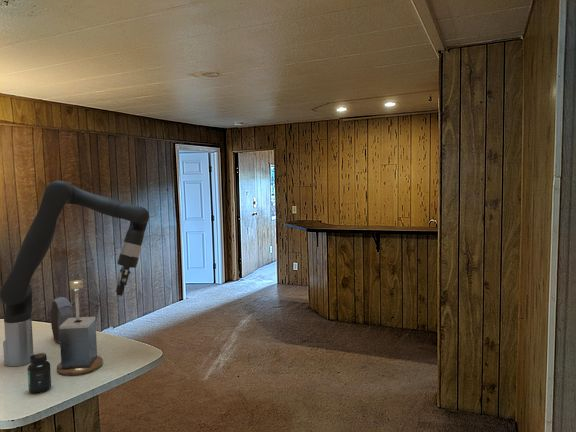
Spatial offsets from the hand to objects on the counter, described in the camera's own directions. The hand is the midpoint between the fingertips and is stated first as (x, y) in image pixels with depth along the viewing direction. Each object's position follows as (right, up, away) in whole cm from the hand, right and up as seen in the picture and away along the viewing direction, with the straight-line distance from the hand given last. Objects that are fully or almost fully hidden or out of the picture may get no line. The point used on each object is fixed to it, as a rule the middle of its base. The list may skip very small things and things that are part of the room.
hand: (118, 294), depth 177 cm
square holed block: (-12, -27, -8) cm, 30 cm away
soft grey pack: (-32, -25, +20) cm, 45 cm away
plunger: (-12, -16, -9) cm, 22 cm away
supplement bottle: (-17, -28, -26) cm, 42 cm away
